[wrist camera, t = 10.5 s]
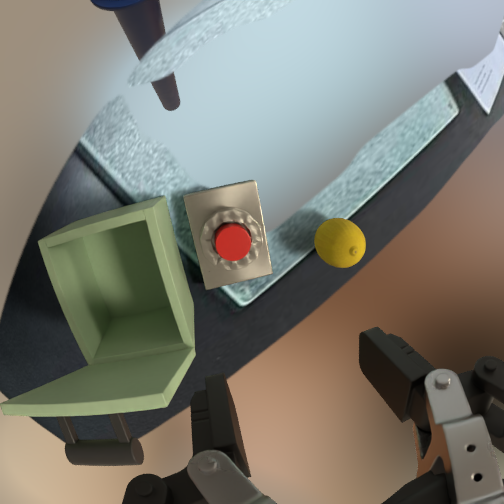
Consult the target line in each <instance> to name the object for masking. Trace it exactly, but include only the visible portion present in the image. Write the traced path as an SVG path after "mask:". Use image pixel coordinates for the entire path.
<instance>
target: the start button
mask: <svg viewBox="0 0 504 504" xmlns="http://www.w3.org/2000/svg"><path fill="white" fill-rule="evenodd" d="M214 242H215V247H216V250H217V252H218V254H219V255H220V256H221V257H222V258H224V259H225V260H228V261H237V260H240V259H242V258H244V257H245V256H246V255H247V254H248V252H249V250H250V247H251V239H250V236H249V234H248V233H247V231H246V230H245V229H244V228H243V227H242V226H240V225H238V224H235V223H229V224H226V225H223V226H222V227H221V228H219V229H218V231H217V232H216V235H215V239H214Z"/></svg>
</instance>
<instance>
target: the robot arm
mask: <svg viewBox="0 0 504 504" xmlns="http://www.w3.org/2000/svg"><path fill="white" fill-rule="evenodd" d="M359 364H360V368H361V370H362V372H363V374H364V375H365V376H366V378H367V379H368V380H369V382H370V383H371V384H372V385H373V387H374V388H375V389H376V390H377V392H378V393H379V394H380V395H381V397H382V398H383V399H384V400H385V402H386V403H387V404H388V406H389V407H390V408H391V409H392V411H393V412H394V413H395V414H396V416H397V417H398V418H399V420H400V421H401V422H402V423H403V422H404V421H406V420H408V419H410V418H411V419H412V420H413V421H414V424H413V433H414V439H415V446H416V453H417V461H418V470H417V475H416V479H414V480H412V481H411V482H409V483H407V484H405V485H404V486H403V487H402V488H401V489H399V490H398V491H397V492H396V493H395V494H393V495H392V496H391V497H390V498H388V499H387V500H386V501H385V502H383V503H382V504H504V479H502V477H501V473H500V470H499V466H498V462H497V459H496V455H495V452H494V449H493V445H494V446H495V447H496V448H498V449H499V450H500V451H502V452H503V453H504V410H502V409H500V408H499V407H498V406H496V405H494V404H493V403H492V401H493V398H496V399H497V400H499V401H500V402H502V403H503V404H504V362H503V361H502V360H500V359H498V358H496V357H491V356H485V357H482V358H480V359H478V360H477V362H476V363H475V366H474V369H473V370H471V371H467V372H464V373H461V374H455V373H454V372H453V371H451V370H448V369H437V370H436V369H435V368H434V367H433V366H432V365H431V364H430V363H428V361H426V360H425V359H424V358H423V357H422V356H421V355H420V354H419V353H418V352H416V351H414V349H413V348H412V347H411V346H409V344H408V343H406V342H405V341H404V340H403V339H402V338H401V337H398V336H395V335H393V334H388V335H386V334H385V333H384V332H383V331H382V330H381V329H380V328H379V327H374V328H372V329H369V330H366V331H364V332H361V333H360V335H359ZM205 381H206V390H202V391H197V392H195V394H194V396H193V398H192V400H191V402H190V403H191V421H192V422H191V424H192V425H191V426H192V442H193V443H192V444H193V456H192V458H191V459H190V461H189V463H188V465H187V467H186V468H184V469H183V470H181V471H180V472H178V473H175V474H173V475H170V476H168V477H165V478H160V477H159V476H156V475H154V474H142V475H139V476H137V477H135V478H133V479H132V480H131V481H130V482H129V484H128V485H127V488H126V492H125V495H124V499H123V502H122V504H277V503H276V502H275V501H273V500H272V499H271V498H270V497H268V496H265V495H263V494H262V493H261V492H260V491H259V490H258V489H257V488H256V487H255V486H254V485H253V484H252V483H251V481H250V480H249V479H248V477H251V474H250V470H249V466H248V462H247V458H246V453H245V449H244V445H243V440H242V436H241V431H240V427H239V422H238V417H237V413H236V409H235V405H234V402H233V398H232V395H231V393H230V390H229V387H228V384H227V381H226V377H225V375H224V373H220V374H215V375H211V376H206V377H205Z"/></svg>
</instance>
